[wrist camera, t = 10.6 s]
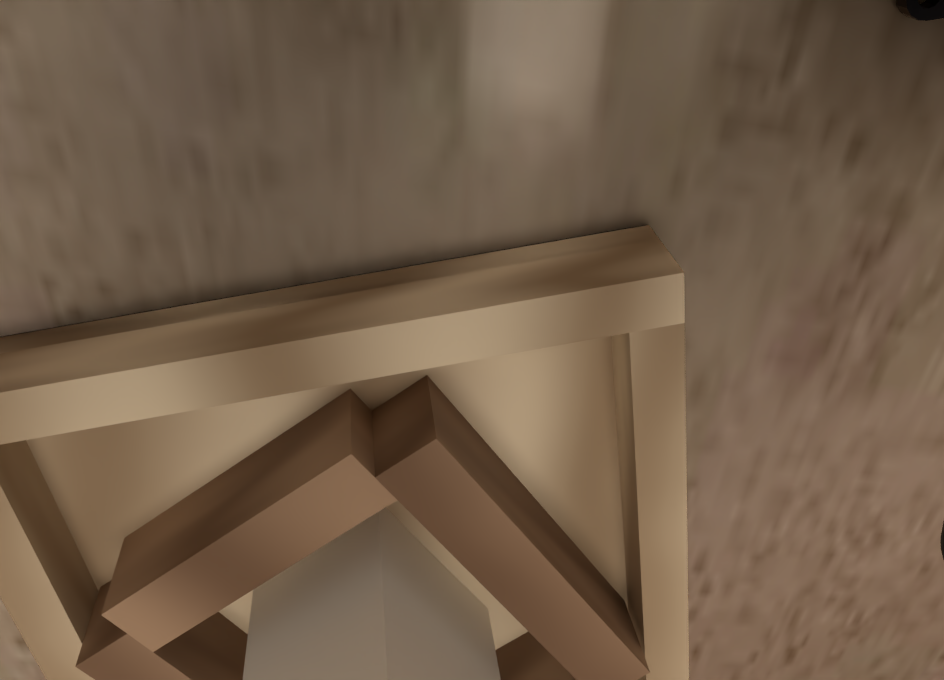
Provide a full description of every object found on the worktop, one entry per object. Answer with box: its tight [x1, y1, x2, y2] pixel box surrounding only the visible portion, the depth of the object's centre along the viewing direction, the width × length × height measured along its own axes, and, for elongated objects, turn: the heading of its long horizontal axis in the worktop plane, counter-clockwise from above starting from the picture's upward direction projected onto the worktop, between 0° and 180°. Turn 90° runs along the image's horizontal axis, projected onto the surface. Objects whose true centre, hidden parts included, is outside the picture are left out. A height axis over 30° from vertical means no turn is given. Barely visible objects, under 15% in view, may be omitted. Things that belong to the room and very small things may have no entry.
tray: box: [0, 225, 689, 680], centre depth 24 cm, size 16×18×3 cm
